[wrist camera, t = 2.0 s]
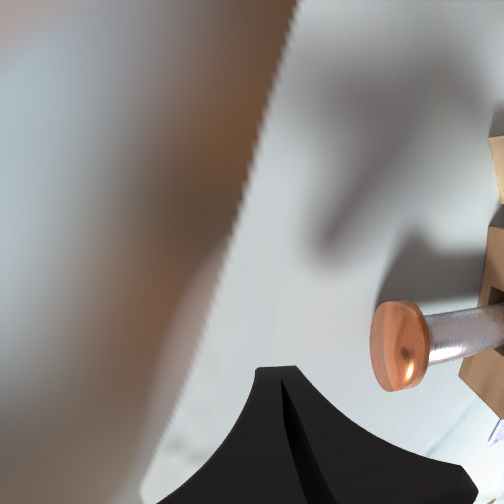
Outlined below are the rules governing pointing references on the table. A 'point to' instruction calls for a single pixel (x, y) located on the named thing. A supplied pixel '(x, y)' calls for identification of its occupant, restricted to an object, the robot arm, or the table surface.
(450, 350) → the pin
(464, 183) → the table surface
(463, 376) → the block
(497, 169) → the block
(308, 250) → the table surface
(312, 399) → the robot arm
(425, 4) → the table surface
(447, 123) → the table surface
